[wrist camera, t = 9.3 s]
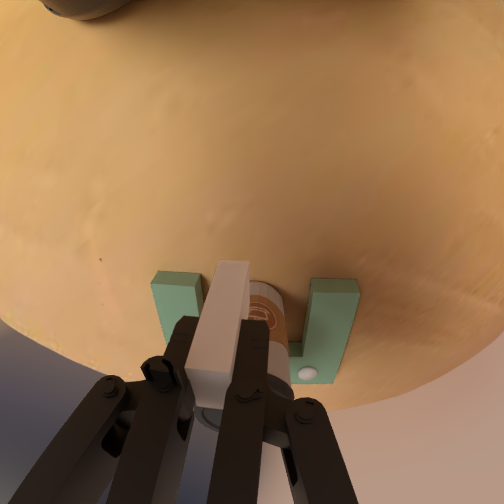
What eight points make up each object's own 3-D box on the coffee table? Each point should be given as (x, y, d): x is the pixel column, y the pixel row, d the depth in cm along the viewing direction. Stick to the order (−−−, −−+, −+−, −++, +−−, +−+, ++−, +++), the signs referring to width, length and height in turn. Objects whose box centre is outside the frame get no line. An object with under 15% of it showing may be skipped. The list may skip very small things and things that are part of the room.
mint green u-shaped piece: (158, 270, 31) (148, 286, 29) (355, 279, 30) (362, 296, 27) (180, 361, 39) (174, 377, 37) (331, 370, 38) (333, 387, 35)
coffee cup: (300, 278, 30) (308, 401, 17) (282, 333, 34) (279, 443, 21) (222, 264, 30) (186, 382, 17) (215, 321, 34) (187, 429, 21)
